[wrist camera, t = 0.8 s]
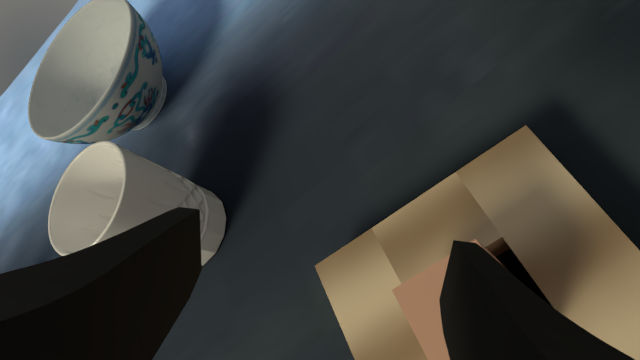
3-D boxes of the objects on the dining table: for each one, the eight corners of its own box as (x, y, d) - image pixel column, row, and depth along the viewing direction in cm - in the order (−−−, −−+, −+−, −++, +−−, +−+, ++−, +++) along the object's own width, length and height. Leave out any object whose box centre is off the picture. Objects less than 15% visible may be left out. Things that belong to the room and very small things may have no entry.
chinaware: (183, 15, 48) (123, -35, 42) (209, 113, 40) (139, 70, 34) (95, 92, 52) (29, 58, 46) (104, 194, 45) (25, 169, 39)
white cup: (249, 216, 34) (142, 175, 26) (192, 298, 34) (70, 283, 26) (200, 169, 38) (96, 122, 30) (150, 241, 39) (35, 214, 31)
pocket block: (755, 399, 17) (782, 408, 15) (453, 525, 21) (435, 548, 19) (532, 146, 25) (526, 125, 22) (338, 272, 28) (314, 265, 26)
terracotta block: (556, 339, 21) (542, 335, 15) (484, 375, 22) (442, 387, 16) (507, 268, 23) (475, 238, 17) (443, 304, 24) (391, 290, 18)
